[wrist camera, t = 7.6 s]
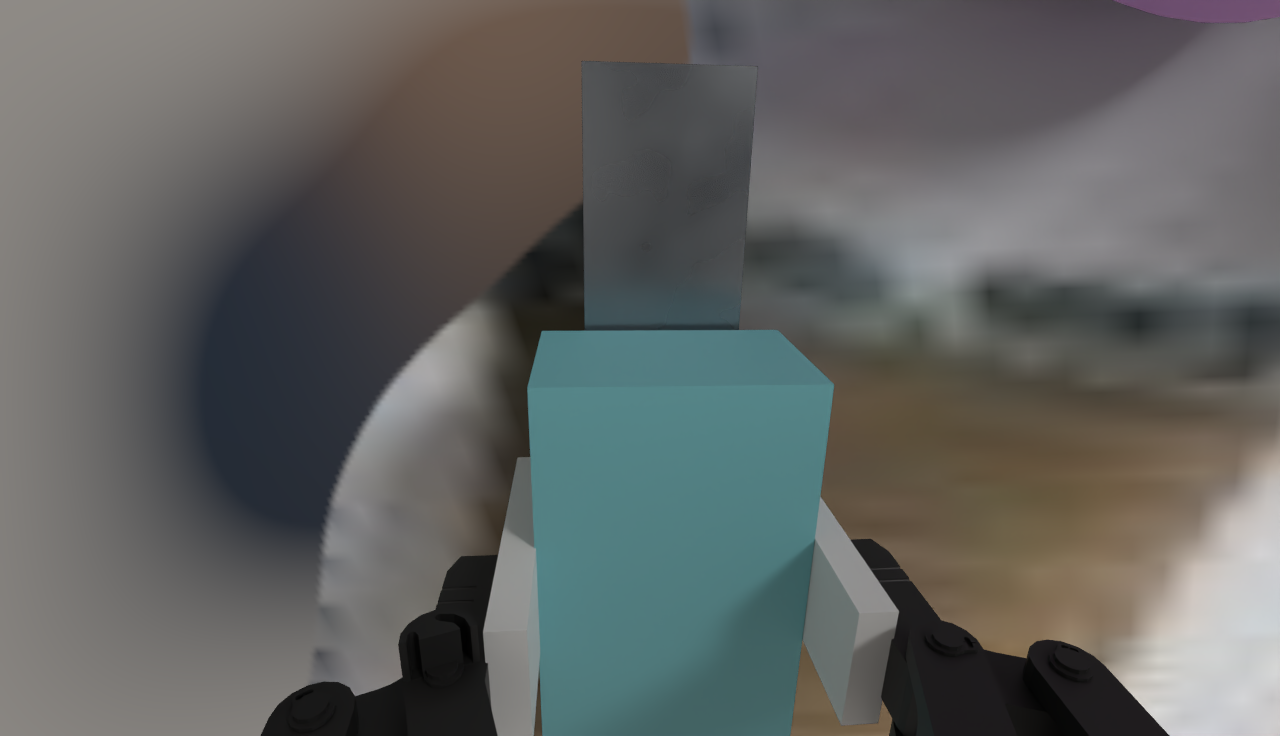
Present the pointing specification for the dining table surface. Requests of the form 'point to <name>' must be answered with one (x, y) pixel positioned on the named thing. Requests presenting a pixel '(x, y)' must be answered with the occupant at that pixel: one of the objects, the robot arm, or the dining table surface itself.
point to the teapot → (1209, 9)
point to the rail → (665, 193)
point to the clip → (673, 528)
